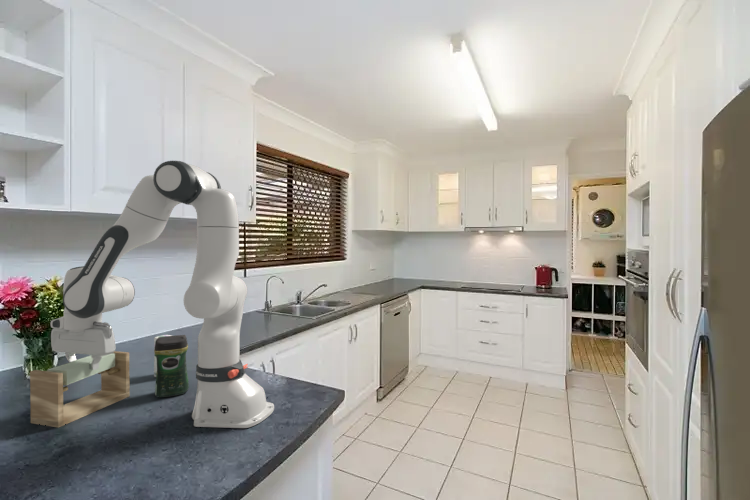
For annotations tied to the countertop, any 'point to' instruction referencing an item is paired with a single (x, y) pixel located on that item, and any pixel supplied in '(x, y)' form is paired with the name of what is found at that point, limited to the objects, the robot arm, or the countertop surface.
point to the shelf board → (83, 368)
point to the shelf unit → (50, 399)
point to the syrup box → (155, 355)
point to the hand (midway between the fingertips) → (83, 368)
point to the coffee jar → (171, 366)
